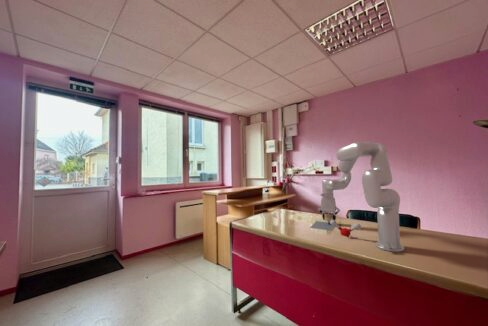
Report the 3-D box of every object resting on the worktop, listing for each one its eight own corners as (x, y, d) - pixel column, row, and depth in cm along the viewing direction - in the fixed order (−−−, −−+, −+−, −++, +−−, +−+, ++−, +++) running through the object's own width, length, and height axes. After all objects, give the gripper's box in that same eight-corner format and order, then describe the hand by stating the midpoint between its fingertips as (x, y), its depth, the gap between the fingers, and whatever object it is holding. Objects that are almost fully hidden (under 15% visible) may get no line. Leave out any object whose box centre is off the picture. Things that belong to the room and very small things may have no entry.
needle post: (330, 224, 149) (330, 213, 150) (327, 224, 151) (327, 213, 151) (331, 224, 151) (330, 213, 151) (328, 223, 152) (327, 213, 152)
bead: (333, 221, 147) (332, 214, 147) (323, 220, 150) (323, 214, 150) (334, 219, 152) (334, 213, 152) (325, 218, 155) (325, 212, 156)
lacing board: (332, 232, 136) (332, 230, 136) (309, 229, 144) (309, 227, 144) (337, 225, 153) (336, 223, 153) (316, 222, 161) (316, 221, 161)
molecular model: (329, 235, 130) (329, 220, 131) (332, 233, 135) (331, 218, 135) (360, 241, 119) (359, 224, 119) (362, 238, 123) (361, 222, 124)
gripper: (314, 196, 153) (315, 219, 152) (340, 197, 144) (341, 222, 143) (317, 194, 159) (318, 217, 159) (341, 195, 150) (342, 220, 149)
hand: (329, 219), depth 151 cm, fingers closed on bead, 6 cm apart
